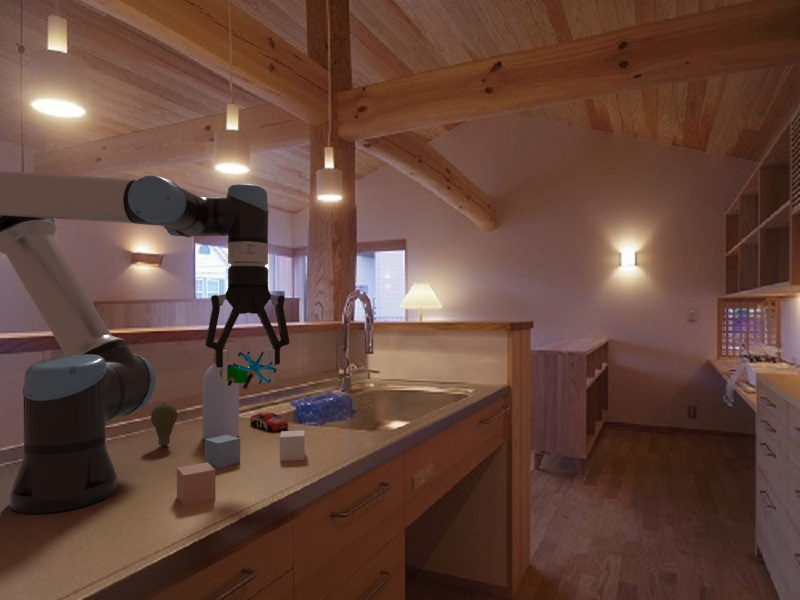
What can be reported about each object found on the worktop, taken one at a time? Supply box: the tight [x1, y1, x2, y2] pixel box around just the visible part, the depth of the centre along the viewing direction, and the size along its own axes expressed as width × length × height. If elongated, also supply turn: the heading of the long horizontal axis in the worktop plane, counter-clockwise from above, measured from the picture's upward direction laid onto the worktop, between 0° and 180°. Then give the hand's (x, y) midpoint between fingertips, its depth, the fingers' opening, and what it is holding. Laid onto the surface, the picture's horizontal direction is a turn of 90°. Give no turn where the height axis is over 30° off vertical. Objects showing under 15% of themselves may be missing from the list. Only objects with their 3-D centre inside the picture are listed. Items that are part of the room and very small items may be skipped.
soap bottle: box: [201, 339, 240, 440], centre depth 128 cm, size 9×9×24 cm
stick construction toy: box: [220, 350, 277, 390], centre depth 98 cm, size 12×7×8 cm
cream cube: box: [279, 430, 306, 462], centre depth 110 cm, size 5×5×5 cm
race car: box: [249, 411, 289, 433], centre depth 138 cm, size 13×5×4 cm, turn 45°
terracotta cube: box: [176, 462, 216, 507], centre depth 86 cm, size 5×5×5 cm
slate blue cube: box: [204, 435, 241, 469], centre depth 106 cm, size 5×5×5 cm
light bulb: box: [150, 402, 178, 448], centre depth 119 cm, size 6×6×10 cm
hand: (248, 383), depth 100 cm, fingers closed on stick construction toy, 8 cm apart
